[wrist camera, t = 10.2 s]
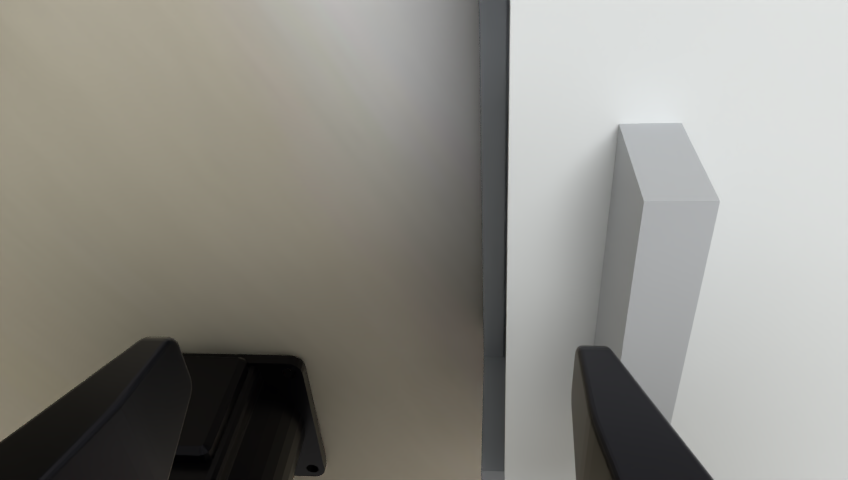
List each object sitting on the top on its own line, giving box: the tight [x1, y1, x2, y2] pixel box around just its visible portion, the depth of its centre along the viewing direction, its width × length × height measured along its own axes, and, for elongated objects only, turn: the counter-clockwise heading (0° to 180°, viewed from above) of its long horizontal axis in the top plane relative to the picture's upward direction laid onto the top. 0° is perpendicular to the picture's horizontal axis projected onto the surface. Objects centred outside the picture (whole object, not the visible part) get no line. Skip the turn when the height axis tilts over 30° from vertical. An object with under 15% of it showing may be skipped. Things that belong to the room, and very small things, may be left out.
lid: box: [504, 0, 848, 480], centre depth 12 cm, size 13×12×3 cm
